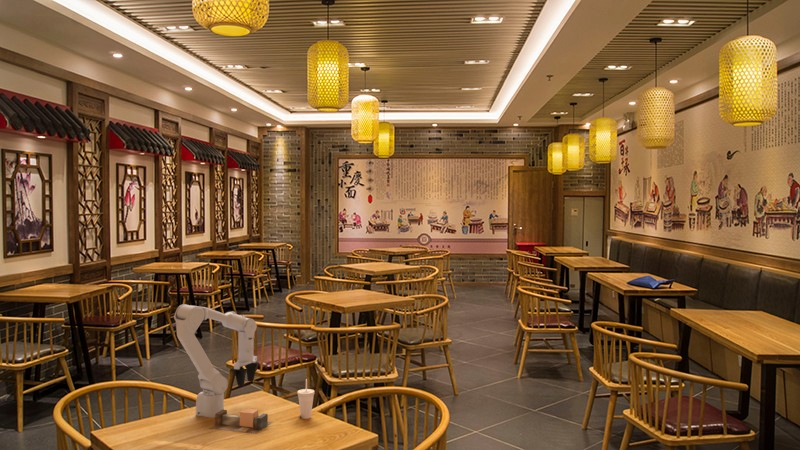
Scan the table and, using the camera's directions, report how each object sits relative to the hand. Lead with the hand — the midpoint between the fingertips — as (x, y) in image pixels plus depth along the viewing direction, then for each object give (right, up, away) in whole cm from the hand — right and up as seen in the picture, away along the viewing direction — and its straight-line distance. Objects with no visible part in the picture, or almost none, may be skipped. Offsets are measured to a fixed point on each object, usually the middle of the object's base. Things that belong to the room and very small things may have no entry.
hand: (245, 383), depth 235 cm
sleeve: (+7, -9, -24) cm, 26 cm away
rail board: (+4, -10, -23) cm, 25 cm away
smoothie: (+25, -10, -11) cm, 29 cm away
